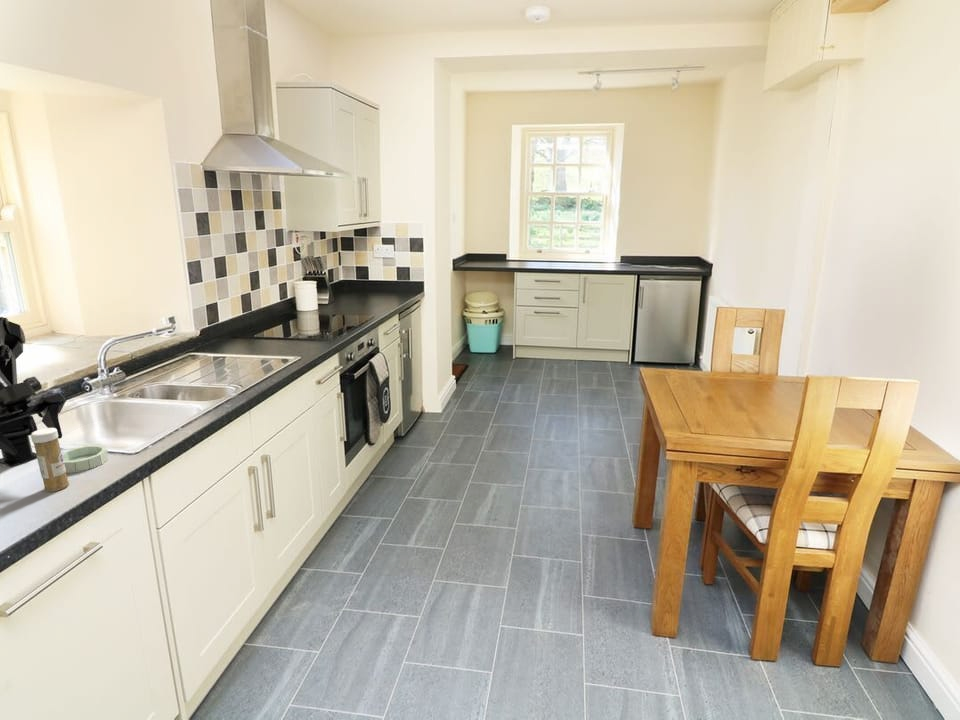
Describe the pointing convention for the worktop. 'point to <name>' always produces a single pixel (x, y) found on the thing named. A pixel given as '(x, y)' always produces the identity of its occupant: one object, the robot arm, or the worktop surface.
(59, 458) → the sprinkles bottle
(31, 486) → the worktop surface
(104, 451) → the dish
